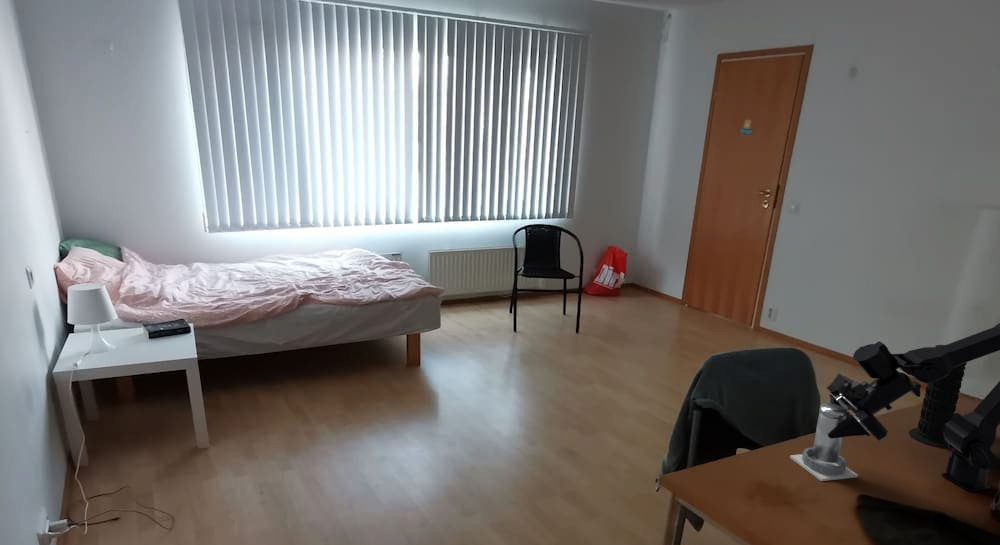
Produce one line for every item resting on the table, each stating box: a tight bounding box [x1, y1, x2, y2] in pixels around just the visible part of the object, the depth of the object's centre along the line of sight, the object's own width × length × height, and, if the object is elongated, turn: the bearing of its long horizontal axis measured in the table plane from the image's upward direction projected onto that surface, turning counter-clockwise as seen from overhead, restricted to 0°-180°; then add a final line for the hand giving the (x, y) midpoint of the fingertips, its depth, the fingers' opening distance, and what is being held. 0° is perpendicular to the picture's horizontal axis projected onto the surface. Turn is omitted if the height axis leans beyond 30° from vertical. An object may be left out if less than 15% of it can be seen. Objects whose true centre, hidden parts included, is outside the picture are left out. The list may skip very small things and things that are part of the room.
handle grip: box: [908, 344, 968, 449], centre depth 144 cm, size 10×26×10 cm
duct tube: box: [812, 402, 848, 463], centre depth 129 cm, size 6×6×12 cm
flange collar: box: [789, 447, 859, 482], centre depth 131 cm, size 10×10×3 cm
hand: (823, 430), depth 129 cm, fingers closed on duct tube, 5 cm apart
